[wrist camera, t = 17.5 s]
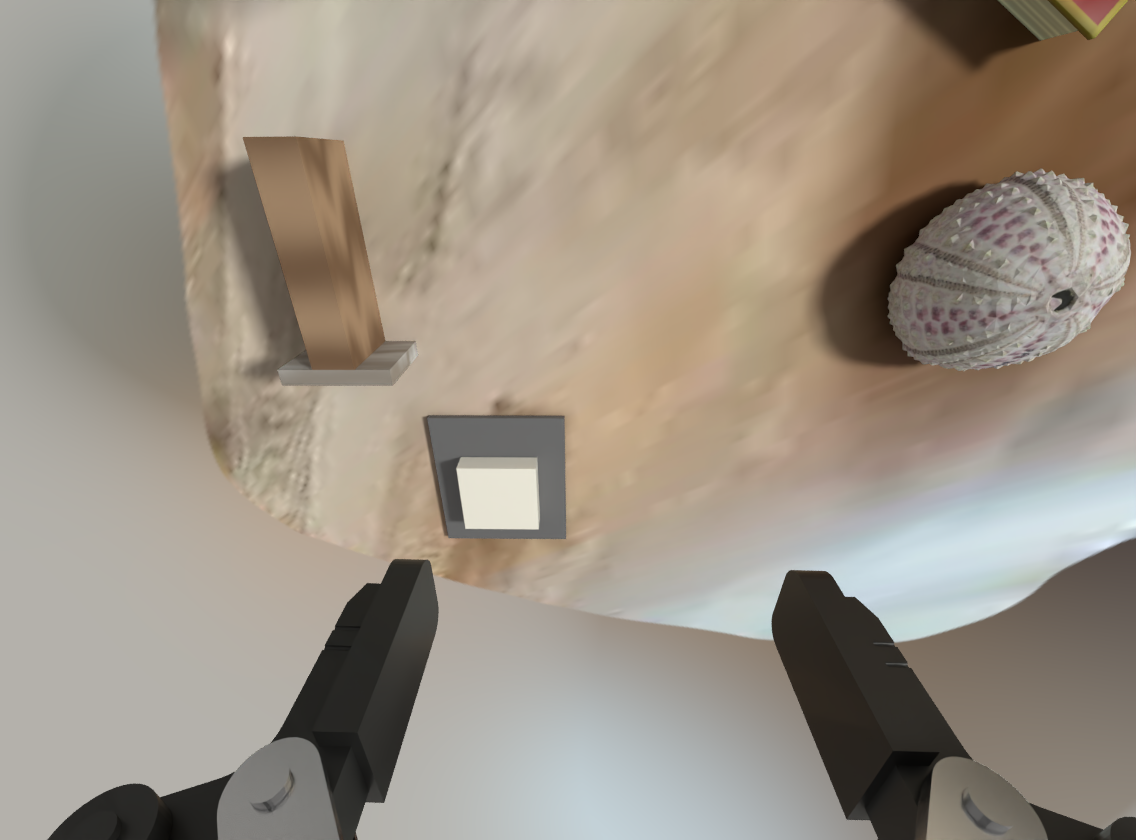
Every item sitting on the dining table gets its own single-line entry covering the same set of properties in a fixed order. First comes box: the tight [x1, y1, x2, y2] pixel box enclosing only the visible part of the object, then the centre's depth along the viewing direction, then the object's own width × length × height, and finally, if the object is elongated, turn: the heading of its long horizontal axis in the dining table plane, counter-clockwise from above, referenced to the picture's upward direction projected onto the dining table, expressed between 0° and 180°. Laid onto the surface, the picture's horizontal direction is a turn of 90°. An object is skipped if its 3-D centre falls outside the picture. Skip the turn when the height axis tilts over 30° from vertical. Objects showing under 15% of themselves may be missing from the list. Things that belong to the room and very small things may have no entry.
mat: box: [427, 416, 566, 539], centre depth 44 cm, size 14×12×1 cm
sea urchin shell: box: [888, 168, 1131, 371], centre depth 31 cm, size 13×14×8 cm
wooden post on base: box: [243, 137, 418, 386], centre depth 32 cm, size 15×8×6 cm, turn 0°
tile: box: [456, 457, 540, 529], centre depth 43 cm, size 2×7×7 cm
